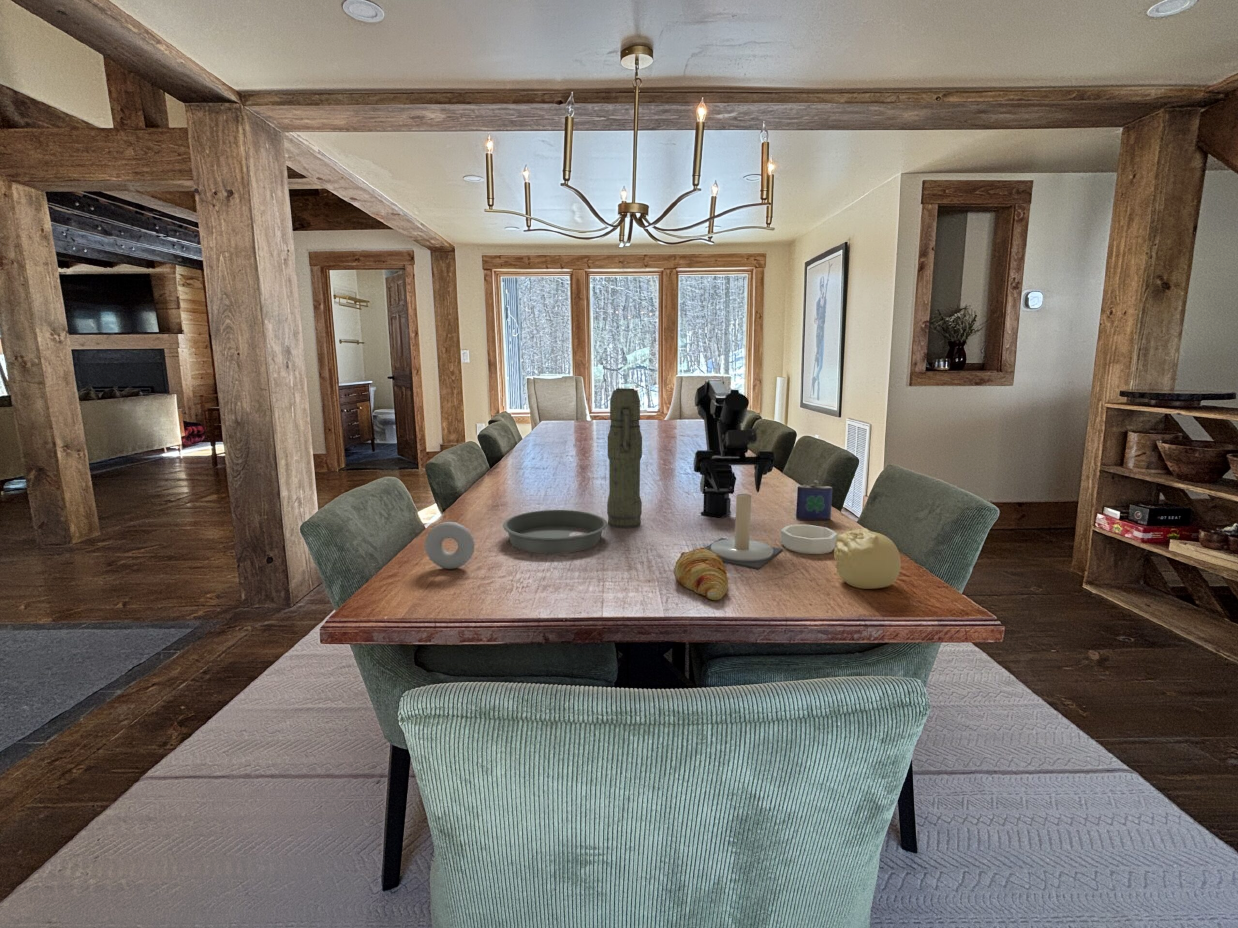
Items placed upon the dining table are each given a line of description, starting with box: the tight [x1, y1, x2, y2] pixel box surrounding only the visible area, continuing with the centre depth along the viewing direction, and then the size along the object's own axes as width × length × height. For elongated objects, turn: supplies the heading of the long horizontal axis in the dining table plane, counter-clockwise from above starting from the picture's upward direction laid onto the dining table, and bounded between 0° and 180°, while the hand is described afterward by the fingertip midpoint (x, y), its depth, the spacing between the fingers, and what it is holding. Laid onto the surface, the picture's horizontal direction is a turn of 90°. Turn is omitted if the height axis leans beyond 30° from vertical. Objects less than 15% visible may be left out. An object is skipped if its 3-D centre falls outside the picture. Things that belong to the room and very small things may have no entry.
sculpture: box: [833, 527, 902, 590], centre depth 119 cm, size 11×12×11 cm
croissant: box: [673, 547, 729, 601], centre depth 120 cm, size 21×10×8 cm, turn 12°
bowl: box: [779, 523, 839, 555], centre depth 142 cm, size 12×12×4 cm
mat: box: [703, 537, 784, 570], centre depth 138 cm, size 15×15×1 cm
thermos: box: [606, 387, 643, 529], centre depth 159 cm, size 9×12×35 cm
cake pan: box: [502, 509, 608, 554], centre depth 147 cm, size 25×25×4 cm
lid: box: [711, 493, 773, 561], centre depth 137 cm, size 14×14×13 cm
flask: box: [795, 479, 833, 521], centre depth 166 cm, size 9×3×11 cm, turn 88°
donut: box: [424, 521, 476, 570], centre depth 127 cm, size 10×3×10 cm, turn 92°
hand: (738, 491), depth 142 cm, fingers open, 9 cm apart
